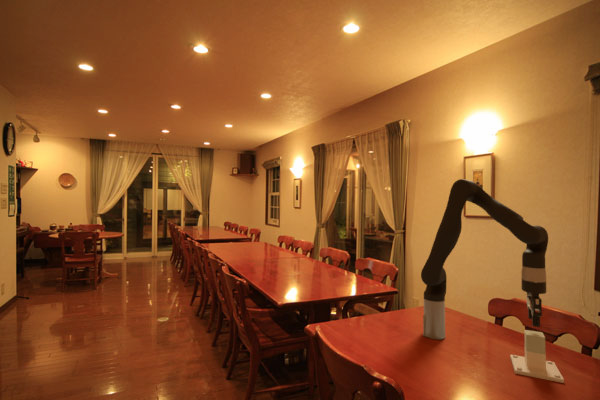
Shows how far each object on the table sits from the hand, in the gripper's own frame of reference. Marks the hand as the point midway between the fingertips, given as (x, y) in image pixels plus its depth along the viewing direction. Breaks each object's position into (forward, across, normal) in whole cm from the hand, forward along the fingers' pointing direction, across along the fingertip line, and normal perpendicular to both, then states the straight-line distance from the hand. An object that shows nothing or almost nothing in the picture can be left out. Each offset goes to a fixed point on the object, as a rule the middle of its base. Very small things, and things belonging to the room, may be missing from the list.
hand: (533, 322), depth 119 cm
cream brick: (+16, 0, 0) cm, 16 cm away
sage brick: (+10, 0, 0) cm, 10 cm away
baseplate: (+17, 0, 0) cm, 17 cm away
